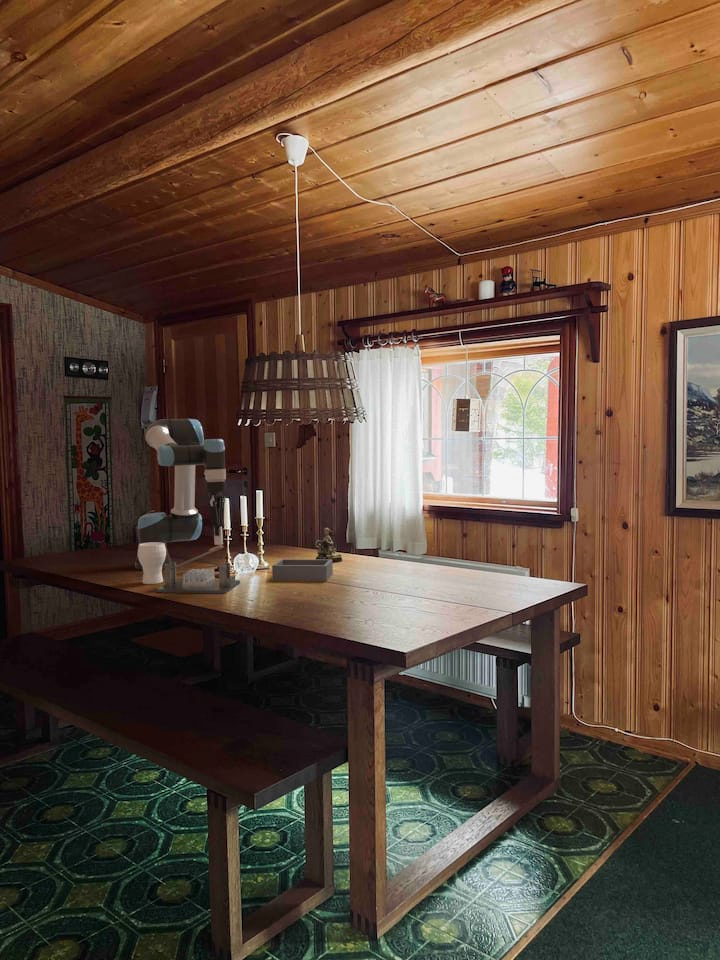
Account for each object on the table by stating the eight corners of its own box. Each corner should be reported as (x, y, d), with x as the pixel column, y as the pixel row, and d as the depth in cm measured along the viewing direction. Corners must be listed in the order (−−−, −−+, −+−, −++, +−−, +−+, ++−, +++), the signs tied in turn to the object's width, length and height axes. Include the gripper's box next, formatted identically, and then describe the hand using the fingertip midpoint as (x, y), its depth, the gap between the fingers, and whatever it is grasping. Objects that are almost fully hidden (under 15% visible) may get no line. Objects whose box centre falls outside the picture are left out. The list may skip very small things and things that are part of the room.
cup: (159, 585, 277) (157, 546, 277) (133, 584, 280) (132, 545, 279) (171, 579, 288) (170, 542, 287) (146, 579, 290) (145, 541, 289)
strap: (167, 572, 272) (165, 568, 272) (170, 571, 275) (168, 566, 275) (222, 549, 268) (219, 545, 268) (224, 548, 271) (222, 543, 271)
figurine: (311, 562, 323) (310, 529, 322) (322, 558, 333) (321, 526, 332) (335, 564, 318) (335, 530, 317) (345, 560, 328) (345, 527, 327)
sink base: (156, 592, 265) (155, 567, 264) (175, 582, 283) (174, 559, 282) (225, 593, 261) (224, 568, 261) (240, 583, 279) (239, 559, 279)
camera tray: (281, 574, 298) (280, 559, 297) (332, 575, 295) (332, 559, 295) (272, 582, 284) (272, 565, 283) (326, 582, 281) (326, 566, 280)
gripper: (211, 480, 276) (214, 542, 277) (199, 482, 263) (203, 547, 264) (230, 479, 275) (233, 541, 276) (220, 481, 262) (223, 546, 263)
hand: (218, 544), depth 270 cm, fingers closed
